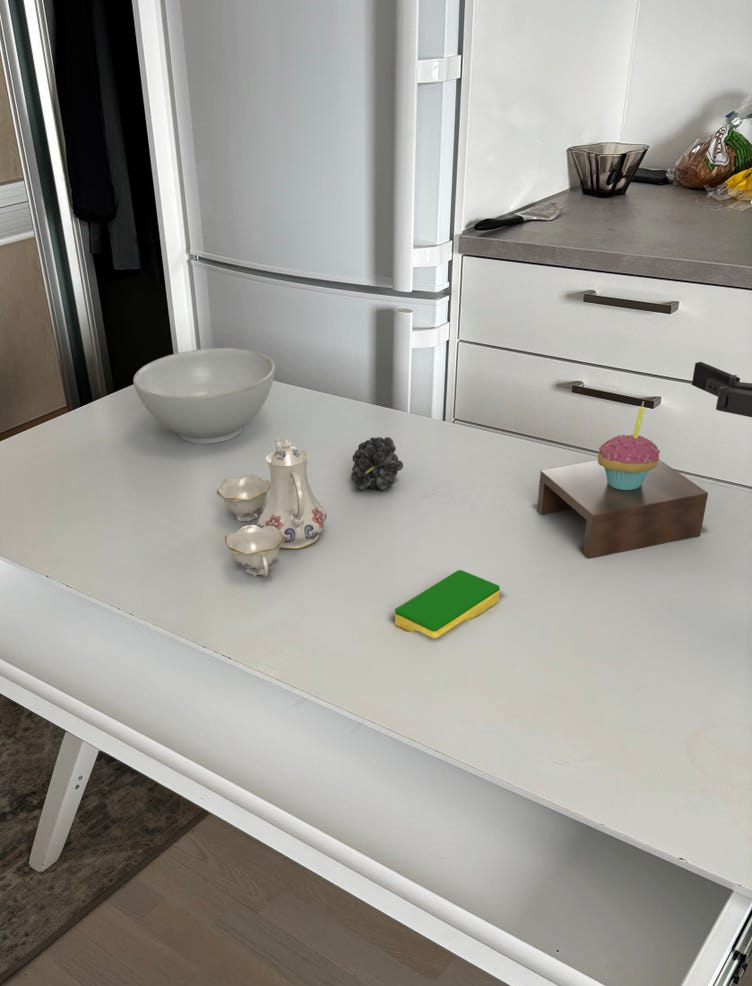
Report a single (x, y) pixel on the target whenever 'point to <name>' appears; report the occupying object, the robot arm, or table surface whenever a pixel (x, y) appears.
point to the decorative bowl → (206, 391)
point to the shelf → (624, 506)
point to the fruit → (375, 464)
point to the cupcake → (628, 458)
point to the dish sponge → (447, 604)
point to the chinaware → (273, 510)
